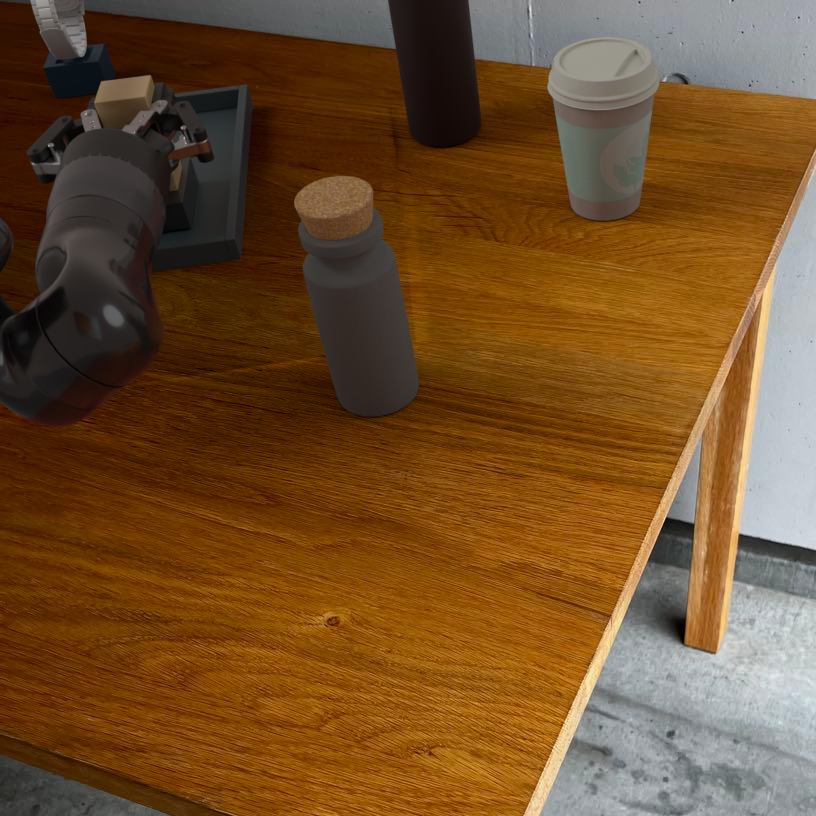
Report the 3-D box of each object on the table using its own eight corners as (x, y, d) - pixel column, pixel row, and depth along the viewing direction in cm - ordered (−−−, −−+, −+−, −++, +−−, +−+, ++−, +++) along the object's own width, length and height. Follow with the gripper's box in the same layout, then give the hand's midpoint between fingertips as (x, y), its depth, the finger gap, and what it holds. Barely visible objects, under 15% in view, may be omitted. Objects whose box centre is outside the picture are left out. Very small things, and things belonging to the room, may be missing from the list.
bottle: (406, 354, 76) (367, 161, 65) (430, 402, 72) (393, 206, 61) (328, 377, 75) (274, 184, 64) (348, 427, 71) (295, 232, 60)
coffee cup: (596, 243, 84) (593, 96, 75) (534, 200, 89) (523, 57, 80) (678, 204, 87) (683, 58, 78) (613, 165, 92) (611, 23, 83)
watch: (118, 65, 112) (78, -47, 104) (107, 99, 107) (63, -15, 98) (65, 71, 112) (20, -40, 104) (51, 106, 106) (3, -8, 98)
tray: (73, 288, 84) (61, 262, 83) (114, 126, 103) (105, 102, 101) (242, 264, 85) (234, 238, 83) (254, 108, 103) (247, 83, 102)
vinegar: (497, 126, 98) (473, -116, 83) (444, 156, 95) (410, -91, 80) (447, 106, 101) (416, -131, 86) (394, 134, 98) (353, -107, 83)
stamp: (131, 236, 88) (83, 115, 80) (141, 189, 93) (97, 71, 85) (191, 228, 88) (149, 106, 80) (198, 181, 93) (159, 63, 86)
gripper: (193, 144, 72) (208, 40, 84) (-17, 171, 72) (28, 62, 83) (224, 239, 78) (235, 129, 89) (30, 265, 77) (66, 151, 89)
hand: (135, 98), depth 86 cm, fingers closed on stamp, 4 cm apart
